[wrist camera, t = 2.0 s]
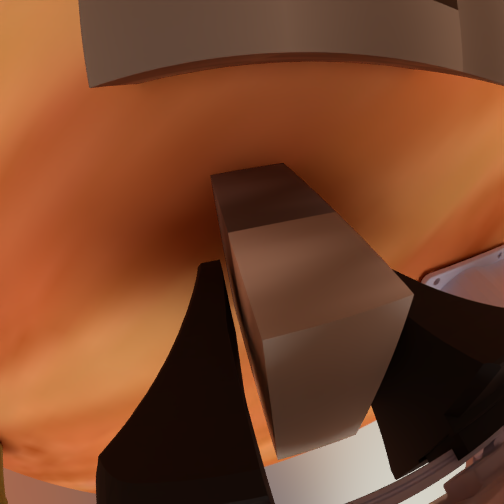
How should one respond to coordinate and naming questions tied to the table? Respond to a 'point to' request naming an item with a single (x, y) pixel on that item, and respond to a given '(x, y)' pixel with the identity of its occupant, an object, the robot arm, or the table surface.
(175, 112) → the table surface
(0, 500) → the plant pot
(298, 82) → the table surface
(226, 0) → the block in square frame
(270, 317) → the rectangular block end
